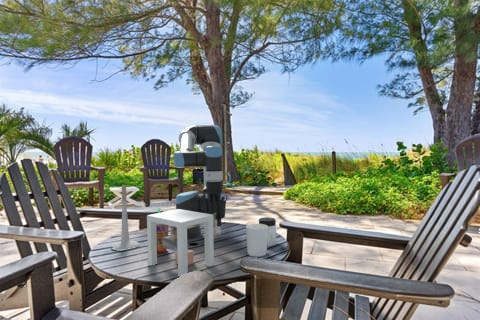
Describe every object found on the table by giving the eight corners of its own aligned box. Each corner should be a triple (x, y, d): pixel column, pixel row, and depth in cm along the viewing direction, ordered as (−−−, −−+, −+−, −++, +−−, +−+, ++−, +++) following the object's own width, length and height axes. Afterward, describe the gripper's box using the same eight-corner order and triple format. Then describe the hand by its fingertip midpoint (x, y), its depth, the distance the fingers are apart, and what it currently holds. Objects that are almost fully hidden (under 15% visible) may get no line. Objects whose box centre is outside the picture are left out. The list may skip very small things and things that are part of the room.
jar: (265, 247, 139) (265, 222, 139) (255, 243, 146) (254, 218, 146) (280, 244, 144) (279, 219, 144) (269, 240, 151) (269, 216, 150)
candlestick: (127, 241, 152) (125, 182, 151) (145, 245, 146) (143, 183, 145) (105, 248, 141) (103, 185, 140) (123, 253, 135) (121, 186, 134)
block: (175, 264, 120) (175, 251, 120) (185, 260, 124) (185, 248, 124) (184, 267, 117) (183, 254, 117) (193, 263, 121) (193, 251, 121)
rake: (209, 233, 140) (208, 211, 140) (228, 237, 132) (227, 214, 132) (162, 247, 120) (162, 222, 119) (182, 253, 112) (182, 226, 112)
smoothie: (152, 255, 130) (151, 210, 130) (148, 250, 138) (147, 207, 137) (171, 252, 134) (170, 208, 134) (167, 247, 142) (166, 205, 141)
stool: (148, 265, 120) (146, 215, 119) (179, 254, 132) (178, 208, 132) (182, 278, 106) (181, 222, 106) (213, 264, 119) (212, 214, 118)
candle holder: (244, 250, 136) (244, 224, 136) (266, 249, 137) (265, 223, 136) (247, 257, 126) (246, 229, 126) (270, 256, 127) (269, 228, 127)
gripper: (196, 180, 136) (197, 232, 136) (221, 182, 126) (222, 237, 127) (208, 179, 142) (209, 228, 142) (232, 180, 132) (233, 233, 133)
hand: (215, 232), depth 134 cm, fingers closed on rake, 2 cm apart
